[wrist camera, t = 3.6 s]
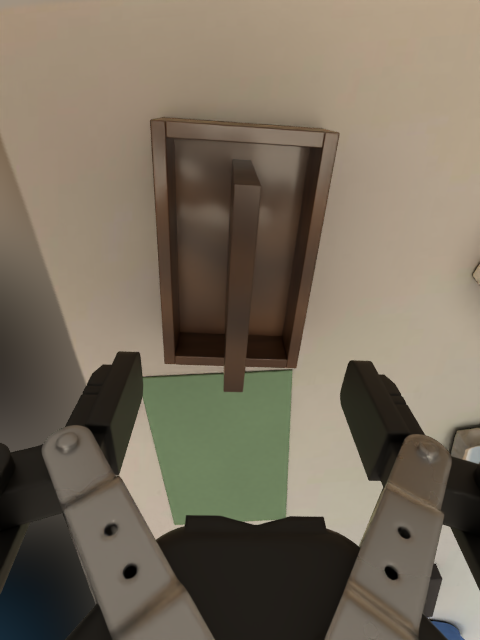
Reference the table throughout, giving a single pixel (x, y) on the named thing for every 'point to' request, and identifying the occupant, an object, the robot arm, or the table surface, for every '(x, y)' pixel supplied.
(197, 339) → the cutlery caddy
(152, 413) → the mat
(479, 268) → the jar
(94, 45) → the table surface
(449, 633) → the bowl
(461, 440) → the picture frame
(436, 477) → the robot arm
